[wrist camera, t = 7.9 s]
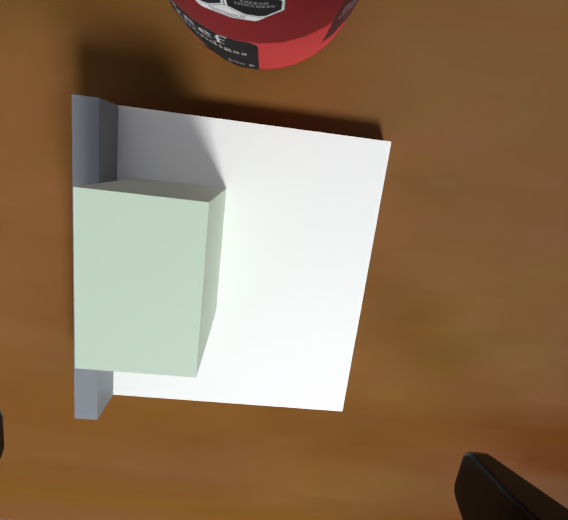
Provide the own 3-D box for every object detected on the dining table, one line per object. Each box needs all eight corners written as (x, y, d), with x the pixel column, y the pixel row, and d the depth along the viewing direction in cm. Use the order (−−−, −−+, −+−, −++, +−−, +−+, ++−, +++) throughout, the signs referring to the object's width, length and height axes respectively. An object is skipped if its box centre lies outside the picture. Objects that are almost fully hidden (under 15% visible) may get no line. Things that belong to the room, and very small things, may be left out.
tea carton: (226, 188, 18) (209, 202, 12) (216, 311, 19) (196, 377, 13) (132, 177, 17) (67, 185, 11) (129, 303, 19) (69, 367, 13)
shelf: (384, 142, 18) (407, 139, 16) (338, 400, 22) (350, 436, 19) (100, 104, 17) (68, 93, 14) (98, 382, 21) (72, 418, 18)
